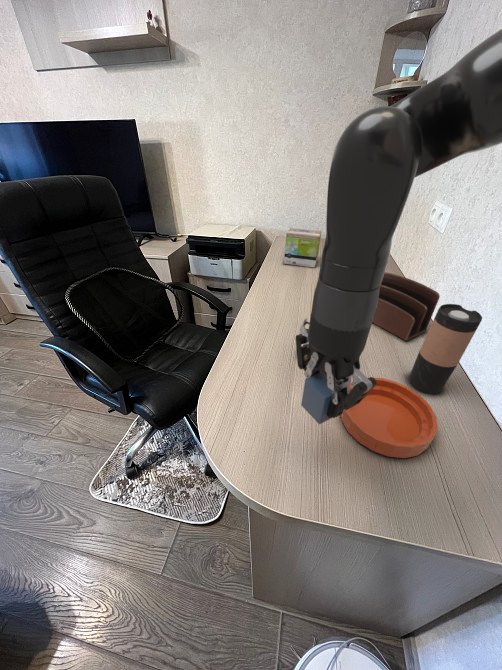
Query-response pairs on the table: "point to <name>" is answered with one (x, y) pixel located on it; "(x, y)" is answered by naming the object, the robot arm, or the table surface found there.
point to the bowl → (392, 420)
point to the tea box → (302, 247)
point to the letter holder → (404, 306)
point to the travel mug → (443, 347)
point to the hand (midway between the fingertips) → (321, 403)
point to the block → (317, 397)
